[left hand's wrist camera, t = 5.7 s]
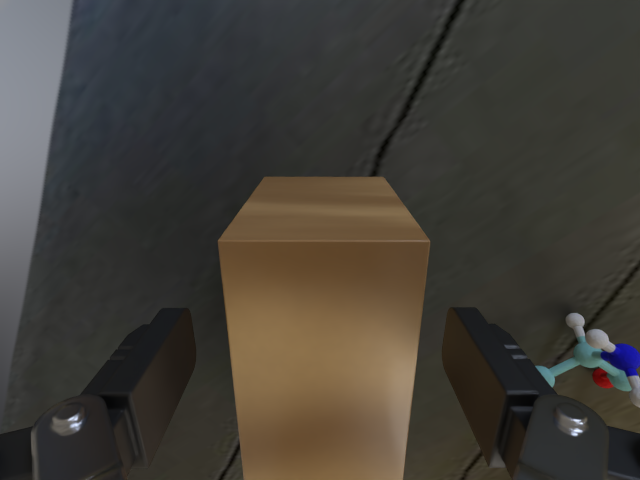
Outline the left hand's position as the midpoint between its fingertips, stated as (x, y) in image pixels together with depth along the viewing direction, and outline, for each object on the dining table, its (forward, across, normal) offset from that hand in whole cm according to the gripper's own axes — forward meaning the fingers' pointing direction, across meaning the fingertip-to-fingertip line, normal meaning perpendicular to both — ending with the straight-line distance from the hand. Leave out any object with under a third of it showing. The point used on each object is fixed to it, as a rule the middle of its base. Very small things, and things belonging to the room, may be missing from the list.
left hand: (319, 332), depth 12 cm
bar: (+8, 0, -10) cm, 12 cm away
